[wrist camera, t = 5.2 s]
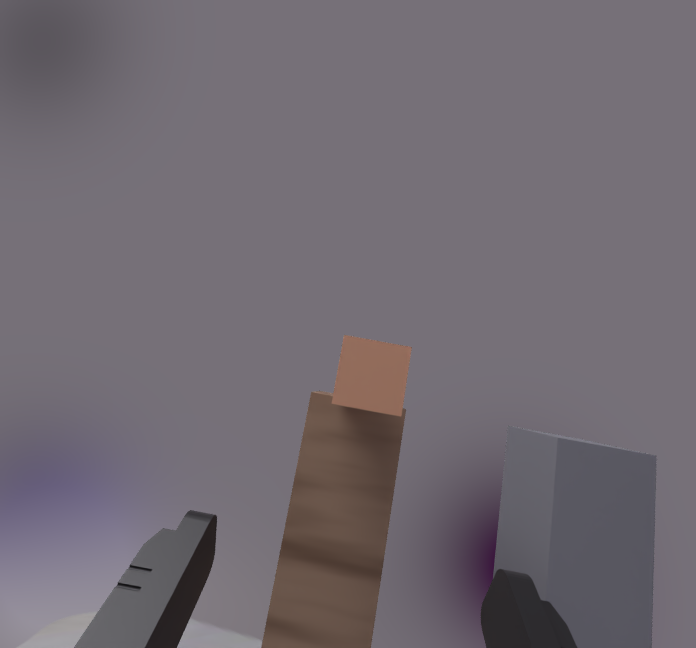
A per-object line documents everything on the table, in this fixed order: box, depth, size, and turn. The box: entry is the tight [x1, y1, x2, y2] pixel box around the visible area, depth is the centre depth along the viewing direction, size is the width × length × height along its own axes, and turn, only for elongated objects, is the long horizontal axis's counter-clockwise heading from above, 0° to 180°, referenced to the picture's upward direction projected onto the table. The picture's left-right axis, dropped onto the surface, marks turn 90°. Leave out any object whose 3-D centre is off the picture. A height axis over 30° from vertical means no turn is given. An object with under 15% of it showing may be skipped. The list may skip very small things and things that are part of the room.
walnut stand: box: [261, 391, 406, 648], centre depth 27 cm, size 8×7×32 cm
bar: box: [332, 335, 412, 417], centre depth 29 cm, size 28×3×3 cm, turn 0°
